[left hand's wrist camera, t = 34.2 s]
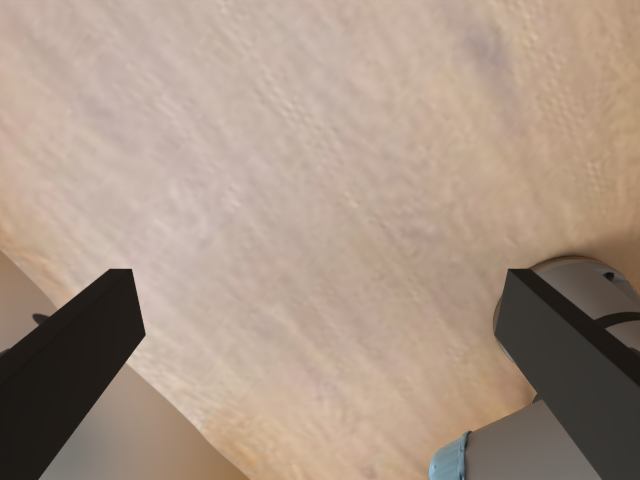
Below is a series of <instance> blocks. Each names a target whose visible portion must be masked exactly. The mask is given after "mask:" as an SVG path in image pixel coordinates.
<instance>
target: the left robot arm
mask: <svg viewBox="0 0 640 480" xmlns="http://www.w3.org/2000/svg"><path fill="white" fill-rule="evenodd" d="M493 329H494V335H495V338H496V340H497V342H498V344H499V346H500V347H501V348H502V350H503V351H504V352H505V354H506V355H507V356H508V358H509V359H510V360H511V361H512V362H513V363H515V364H516V365H517V366H518V368H519V369H520V370H521V372H522V373H523V374H524V376H525V377H526V378H527V380H528V381H529V382H530V384H531V385H532V386H533V388H534V389H535V390H536V392H537V393H538V394H537V395H536V396H535V398H534V400H533V403H532V404H531V405H529V406H527V407H525V408H523V409H521V410H519V411H517V412H515V413H513V414H511V415H508V416H506V417H504V418H502V419H500V420H497V421H495V422H493V423H491V424H489V425H487V426H484V427H482V428H480V429H478V430H476V431H474V432H472V431H467V432H465V433H464V434H463V436H462V437H461V438H459V439H457V440H455V441H454V442H452V443H450V444H448V445H446V446H444V447H443V448H441V449H439V450H438V451H437V452H436V453H435V454H434V456H433V458H432V460H431V463H430V468H429V480H640V296H639V294H638V293H637V292H636V290H635V289H634V288H633V286H632V285H631V284H630V283H629V281H628V280H627V279H626V278H625V277H624V276H623V275H622V274H620V273H619V272H618V271H616V270H614V269H613V268H611V267H609V266H608V265H606V264H604V263H602V262H600V261H598V260H595V259H592V258H588V257H581V256H568V257H560V258H555V259H551V260H548V261H545V262H543V263H540V264H538V265H536V266H534V267H532V268H530V269H508V272H507V277H506V282H505V286H504V291H503V295H502V296H501V298H500V300H499V302H498V304H497V306H496V309H495V313H494V318H493ZM145 335H146V334H145V329H144V324H143V319H142V315H141V310H140V305H139V301H138V296H137V291H136V286H135V282H134V277H133V272H132V269H109V270H108V271H106V272H105V273H104V274H103V275H101V276H100V277H99V278H98V279H96V280H95V281H94V282H93V283H91V284H90V285H89V286H88V287H87V288H85V289H84V290H83V291H82V292H80V293H79V294H78V295H77V296H75V297H74V298H73V299H72V300H70V301H69V302H68V303H67V304H65V305H64V306H63V307H62V308H60V309H59V310H58V311H57V312H55V313H54V314H53V315H52V316H50V317H49V318H48V319H47V320H45V321H44V322H43V323H42V324H40V325H39V326H38V327H37V328H35V329H34V330H33V331H32V332H30V333H29V334H28V335H27V336H25V337H24V338H23V339H22V340H20V341H19V342H18V343H17V344H15V345H14V346H13V347H12V348H10V349H6V350H5V351H3V352H1V353H0V480H38V479H39V478H40V477H41V475H42V474H43V473H44V471H45V470H46V468H47V467H48V466H49V464H50V463H51V462H52V460H53V459H54V458H55V456H56V455H57V454H58V452H59V451H60V450H61V448H62V447H63V446H64V444H65V443H66V441H67V440H68V439H69V438H70V436H71V435H72V433H73V432H74V431H75V429H76V428H77V427H78V425H79V424H80V423H81V421H82V420H83V419H84V417H85V416H86V415H87V413H88V412H89V411H90V409H91V408H92V407H93V405H94V404H95V403H96V401H97V400H98V398H99V397H100V396H101V394H102V393H103V392H104V390H105V389H106V388H107V386H108V385H109V384H110V382H111V381H112V380H113V378H114V377H115V376H116V374H117V373H118V371H119V370H120V369H121V367H122V366H123V365H124V363H125V362H126V361H127V359H128V358H129V357H130V355H131V354H132V353H133V351H134V350H135V349H136V347H137V346H138V345H139V343H140V342H141V341H142V339H143V338H144V337H145Z"/></svg>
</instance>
